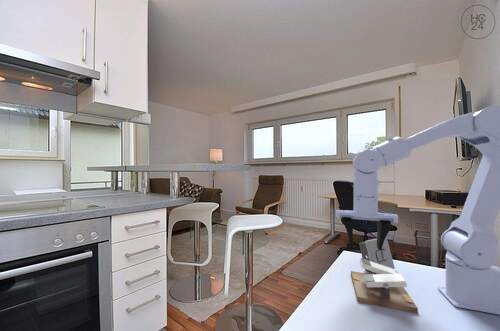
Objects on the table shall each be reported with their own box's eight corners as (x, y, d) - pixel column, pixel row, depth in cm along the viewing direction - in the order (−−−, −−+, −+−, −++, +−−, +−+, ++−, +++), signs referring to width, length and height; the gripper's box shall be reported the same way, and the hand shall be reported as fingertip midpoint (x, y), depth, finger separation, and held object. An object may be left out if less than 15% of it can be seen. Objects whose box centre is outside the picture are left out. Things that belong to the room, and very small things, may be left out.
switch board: (397, 282, 58) (397, 270, 58) (417, 313, 45) (417, 298, 45) (350, 274, 62) (350, 263, 62) (357, 301, 49) (357, 287, 49)
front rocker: (401, 280, 50) (400, 273, 51) (407, 288, 47) (405, 280, 47) (364, 281, 53) (363, 274, 53) (367, 288, 50) (365, 281, 50)
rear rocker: (392, 274, 57) (393, 268, 57) (396, 281, 53) (398, 274, 53) (359, 263, 59) (360, 257, 59) (361, 268, 56) (363, 262, 56)
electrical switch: (375, 276, 61) (372, 242, 62) (359, 270, 65) (356, 238, 66) (395, 270, 65) (392, 238, 66) (378, 264, 69) (376, 235, 70)
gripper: (392, 195, 59) (392, 245, 59) (335, 193, 64) (335, 239, 63) (401, 199, 52) (400, 255, 52) (336, 195, 57) (336, 247, 57)
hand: (364, 247), depth 57 cm, fingers open, 6 cm apart
